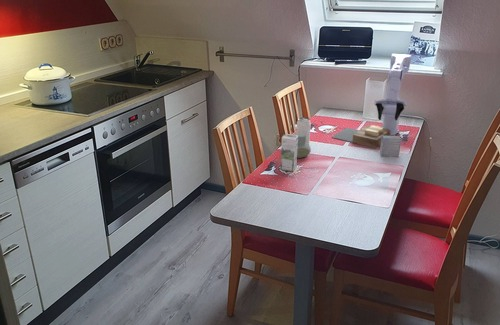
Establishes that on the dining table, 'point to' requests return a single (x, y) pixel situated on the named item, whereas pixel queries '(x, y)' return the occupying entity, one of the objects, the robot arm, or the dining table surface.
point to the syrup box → (289, 152)
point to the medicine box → (390, 146)
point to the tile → (374, 130)
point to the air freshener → (302, 146)
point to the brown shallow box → (369, 137)
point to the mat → (346, 134)
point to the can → (304, 127)
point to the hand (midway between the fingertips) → (387, 119)
